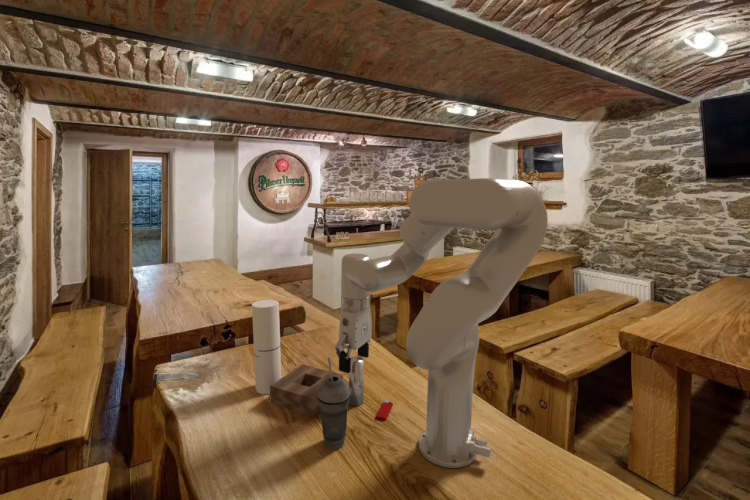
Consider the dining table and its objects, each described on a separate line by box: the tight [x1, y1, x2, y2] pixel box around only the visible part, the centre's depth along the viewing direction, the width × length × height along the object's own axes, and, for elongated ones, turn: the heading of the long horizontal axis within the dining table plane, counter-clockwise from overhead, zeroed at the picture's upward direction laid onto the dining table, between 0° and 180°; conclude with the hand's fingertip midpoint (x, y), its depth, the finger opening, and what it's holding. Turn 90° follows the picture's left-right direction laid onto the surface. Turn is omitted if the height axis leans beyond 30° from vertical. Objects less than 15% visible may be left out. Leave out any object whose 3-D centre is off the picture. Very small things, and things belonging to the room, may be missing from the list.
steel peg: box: [348, 356, 365, 407], centre depth 101 cm, size 4×4×12 cm
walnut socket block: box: [269, 364, 344, 418], centre depth 103 cm, size 14×14×5 cm
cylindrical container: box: [251, 299, 282, 395], centre depth 107 cm, size 7×7×25 cm
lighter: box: [375, 399, 394, 422], centre depth 98 cm, size 3×1×8 cm
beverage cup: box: [317, 357, 350, 451], centre depth 84 cm, size 7×7×20 cm
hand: (354, 363), depth 101 cm, fingers open, 9 cm apart
